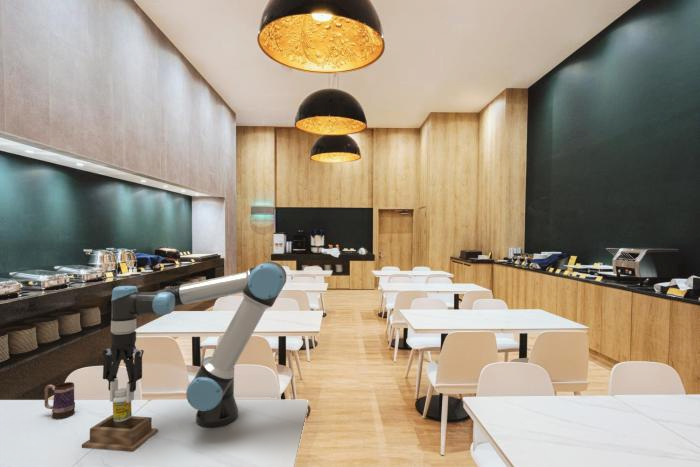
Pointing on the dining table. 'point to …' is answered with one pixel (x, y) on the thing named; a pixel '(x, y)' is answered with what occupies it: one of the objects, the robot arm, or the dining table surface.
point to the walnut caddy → (120, 434)
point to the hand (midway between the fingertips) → (121, 400)
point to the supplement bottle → (121, 406)
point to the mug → (61, 400)
